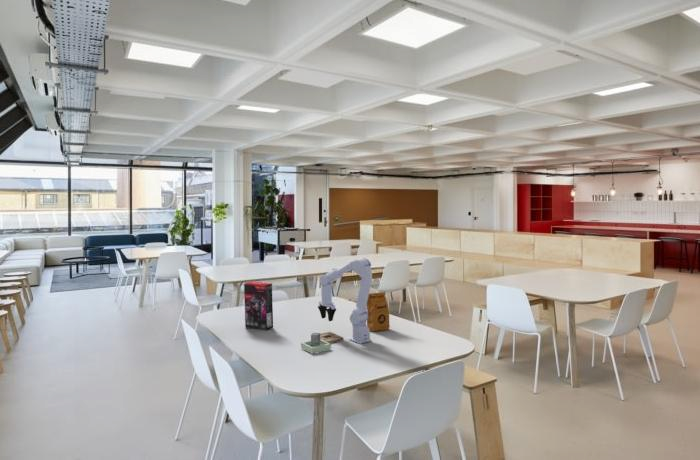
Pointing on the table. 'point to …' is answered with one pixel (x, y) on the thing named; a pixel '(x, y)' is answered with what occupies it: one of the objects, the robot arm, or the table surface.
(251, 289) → the graphics card box
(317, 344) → the pin
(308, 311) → the table surface
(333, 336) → the tan flat square frame
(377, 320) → the coffee package
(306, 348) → the tray
